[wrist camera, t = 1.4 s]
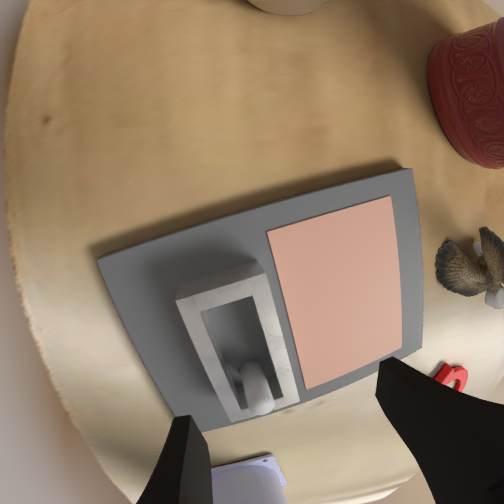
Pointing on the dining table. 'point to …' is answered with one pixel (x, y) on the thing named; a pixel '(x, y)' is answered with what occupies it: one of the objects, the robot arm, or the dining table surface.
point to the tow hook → (453, 376)
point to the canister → (471, 92)
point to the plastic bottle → (288, 6)
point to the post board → (282, 293)
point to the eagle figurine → (474, 269)
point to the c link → (197, 323)
